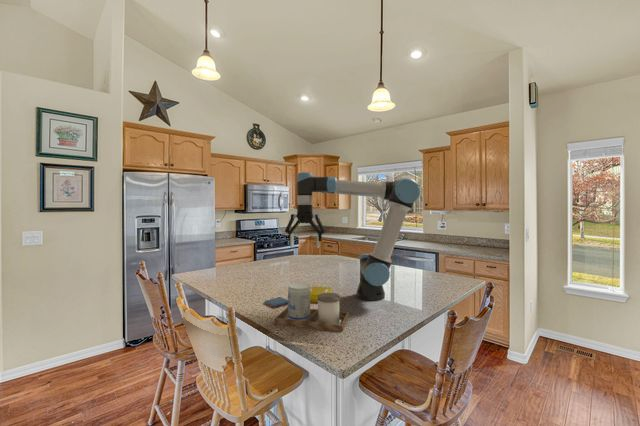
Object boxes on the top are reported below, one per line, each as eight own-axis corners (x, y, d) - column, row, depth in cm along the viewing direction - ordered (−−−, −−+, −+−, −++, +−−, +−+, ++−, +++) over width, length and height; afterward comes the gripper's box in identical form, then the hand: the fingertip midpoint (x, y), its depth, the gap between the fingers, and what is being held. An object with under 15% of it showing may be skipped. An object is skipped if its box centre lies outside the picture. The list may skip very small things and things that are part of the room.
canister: (341, 319, 129) (341, 293, 128) (337, 328, 120) (337, 300, 119) (320, 316, 131) (320, 292, 131) (314, 325, 122) (314, 298, 122)
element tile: (326, 304, 151) (326, 294, 151) (298, 301, 155) (298, 292, 155) (332, 295, 166) (332, 286, 166) (306, 293, 169) (306, 284, 169)
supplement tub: (283, 319, 129) (283, 285, 128) (299, 313, 136) (298, 280, 135) (299, 325, 122) (299, 289, 122) (315, 318, 130) (314, 284, 129)
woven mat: (279, 299, 159) (279, 296, 158) (292, 304, 151) (292, 300, 151) (262, 304, 151) (262, 300, 151) (274, 309, 144) (274, 305, 144)
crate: (348, 319, 131) (348, 312, 131) (342, 333, 117) (342, 325, 117) (287, 313, 138) (287, 306, 138) (274, 325, 124) (274, 318, 124)
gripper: (331, 204, 148) (331, 247, 149) (283, 204, 154) (284, 245, 155) (327, 204, 140) (327, 249, 141) (278, 204, 147) (278, 247, 148)
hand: (305, 247), depth 148 cm, fingers open, 13 cm apart
